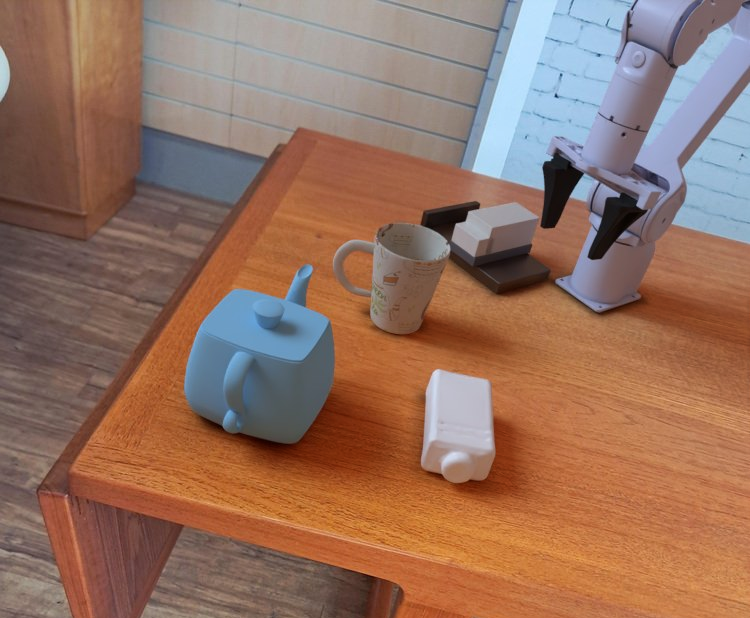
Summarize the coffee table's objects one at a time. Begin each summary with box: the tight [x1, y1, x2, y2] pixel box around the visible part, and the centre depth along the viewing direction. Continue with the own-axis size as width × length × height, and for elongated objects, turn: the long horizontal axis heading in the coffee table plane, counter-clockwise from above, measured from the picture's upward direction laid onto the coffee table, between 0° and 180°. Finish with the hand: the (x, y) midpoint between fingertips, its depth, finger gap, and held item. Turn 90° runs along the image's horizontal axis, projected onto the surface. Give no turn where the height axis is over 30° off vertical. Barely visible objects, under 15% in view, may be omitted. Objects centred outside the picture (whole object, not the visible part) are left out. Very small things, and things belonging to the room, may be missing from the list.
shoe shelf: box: [419, 200, 552, 295], centre depth 105 cm, size 10×16×4 cm, turn 38°
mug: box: [332, 222, 450, 335], centre depth 88 cm, size 8×13×10 cm, turn 78°
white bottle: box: [420, 368, 496, 484], centre depth 76 cm, size 6×13×4 cm, turn 175°
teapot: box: [183, 263, 336, 445], centre depth 73 cm, size 12×18×12 cm
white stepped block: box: [449, 201, 540, 267], centre depth 103 cm, size 11×5×5 cm, turn 128°
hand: (570, 242), depth 91 cm, fingers open, 7 cm apart
